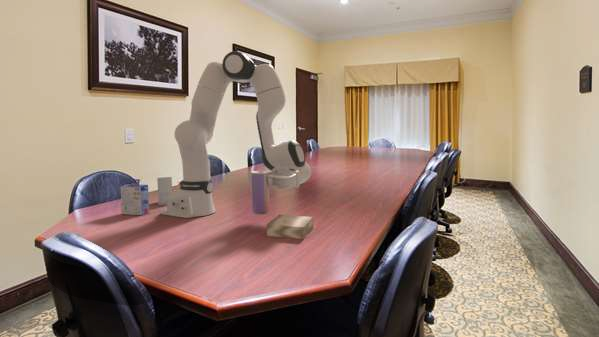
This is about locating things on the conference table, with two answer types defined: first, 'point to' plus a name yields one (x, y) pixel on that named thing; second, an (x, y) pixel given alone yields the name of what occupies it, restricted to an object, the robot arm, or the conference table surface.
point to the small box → (164, 188)
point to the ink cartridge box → (135, 198)
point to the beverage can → (260, 192)
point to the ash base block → (290, 226)
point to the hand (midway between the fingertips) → (257, 182)
